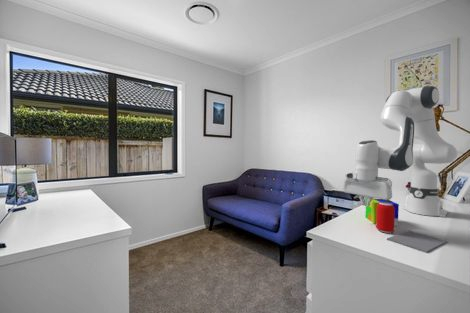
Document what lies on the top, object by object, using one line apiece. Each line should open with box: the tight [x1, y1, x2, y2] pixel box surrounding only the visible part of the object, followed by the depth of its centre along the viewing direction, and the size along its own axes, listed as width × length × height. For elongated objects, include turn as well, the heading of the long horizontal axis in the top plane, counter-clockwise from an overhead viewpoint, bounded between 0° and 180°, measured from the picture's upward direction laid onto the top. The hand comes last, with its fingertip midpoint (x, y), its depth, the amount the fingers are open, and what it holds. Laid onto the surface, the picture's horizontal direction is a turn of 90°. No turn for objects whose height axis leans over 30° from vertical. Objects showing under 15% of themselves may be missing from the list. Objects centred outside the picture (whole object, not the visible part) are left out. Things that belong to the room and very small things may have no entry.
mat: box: [386, 230, 448, 254], centre depth 81 cm, size 18×12×1 cm, turn 119°
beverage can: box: [375, 202, 395, 234], centre depth 90 cm, size 6×6×12 cm
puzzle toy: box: [365, 197, 399, 226], centre depth 104 cm, size 10×10×10 cm
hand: (365, 205), depth 98 cm, fingers closed
